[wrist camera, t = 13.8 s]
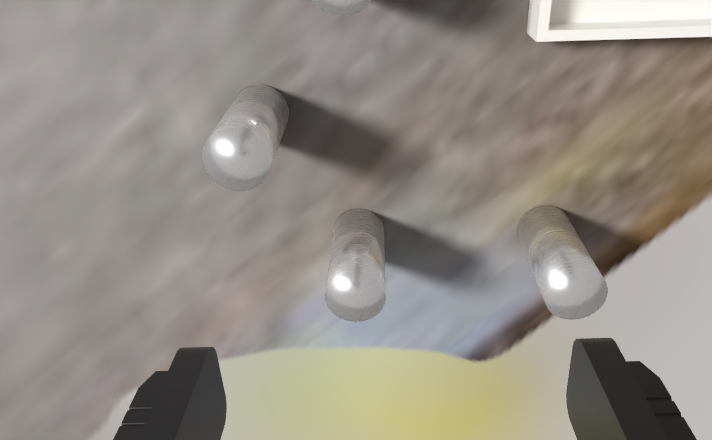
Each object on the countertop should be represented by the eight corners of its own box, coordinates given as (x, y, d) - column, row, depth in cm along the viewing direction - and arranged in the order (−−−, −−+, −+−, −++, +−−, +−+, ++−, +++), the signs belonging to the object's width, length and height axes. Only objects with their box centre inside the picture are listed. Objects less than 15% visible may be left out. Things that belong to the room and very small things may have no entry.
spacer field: (208, -73, 34) (164, -64, 27) (617, -89, 33) (683, -83, 26) (253, 253, 44) (230, 322, 37) (565, 249, 43) (602, 319, 36)
